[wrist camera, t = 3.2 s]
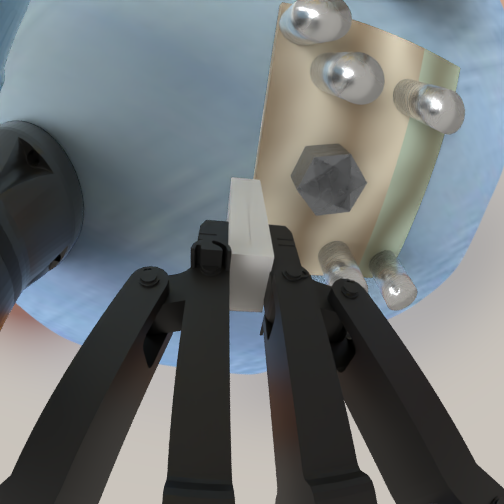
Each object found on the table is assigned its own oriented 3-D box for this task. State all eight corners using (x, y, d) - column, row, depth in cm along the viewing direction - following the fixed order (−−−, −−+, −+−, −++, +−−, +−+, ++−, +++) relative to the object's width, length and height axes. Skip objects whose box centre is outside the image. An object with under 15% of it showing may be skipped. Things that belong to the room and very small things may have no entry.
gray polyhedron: (292, 201, 22) (298, 218, 20) (287, 147, 20) (294, 159, 18) (353, 194, 22) (365, 210, 20) (354, 142, 20) (368, 153, 18)
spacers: (242, 266, 26) (244, 308, 22) (282, 2, 13) (297, -16, 9) (388, 274, 28) (407, 310, 24) (460, 68, 15) (501, 78, 11)
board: (241, 262, 27) (241, 270, 26) (279, 5, 14) (282, 2, 13) (382, 270, 29) (386, 278, 28) (451, 66, 16) (460, 68, 15)
